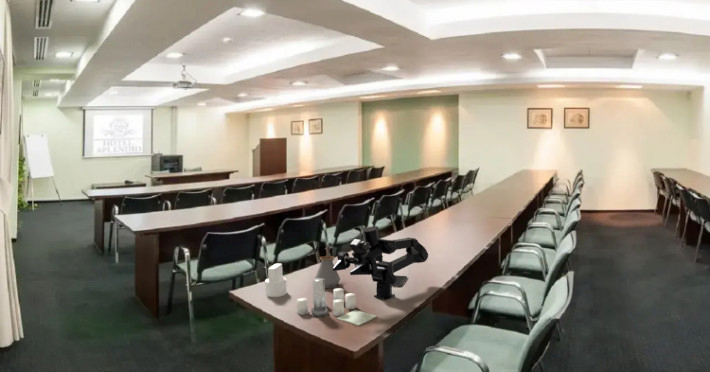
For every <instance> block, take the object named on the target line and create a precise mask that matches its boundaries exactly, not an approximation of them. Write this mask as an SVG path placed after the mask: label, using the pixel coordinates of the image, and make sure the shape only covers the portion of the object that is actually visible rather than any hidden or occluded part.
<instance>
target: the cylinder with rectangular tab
mask: <svg viewBox="0 0 710 372" xmlns="http://www.w3.org/2000/svg"><path fill="white" fill-rule="evenodd" d="M267 272H268V273H267V275H268V277H267V278H266V279H265V280H264V282H265V283H264V285H265V296H266V297H269V298H279V297H282V296H285V295H287V294H288V290H287V286H288V285H287V278H286V277H284V276H283V263H274V264H273V265H270V267H269V268H267Z"/></svg>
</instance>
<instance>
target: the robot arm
mask: <svg viewBox="0 0 710 372" xmlns="http://www.w3.org/2000/svg"><path fill="white" fill-rule="evenodd" d="M362 235H363V240H362V239H358V238H354V239H353V240H352V241H351V243H349V247H350V248H351V250H352V253H351V255H352V256H350V254H349V253H348V252H346V251H339V252H337V253H336V257H337V261H336V263H335V264H334V267H333V271H337V272H338V271H344V270H346V269H349V268H350V266H351V264H352V265H354V267H355V268H353V269H352V270H351V271H350V272H349V274H350V276H360V275H361V276H371V279H372V281H373V282H376V287H375V288H376V294H375V295H373V297H374V298H377V299H381V300H385V301H387V300H389V299H391V298H393V297H396V294H393V287H392V284H394V283H396V276H395V275H396V274H394V273H396V272H398V271H400V270H403V269H404V268H407V267H409V266H410V265H412V264H418V263H419V264H420V263H425V262H426V261H427V260H428V258H429V253H428V251H427V249H426V247H425V246H424V245H422V244H421V243H420V242H419V240H418V239H416V237H415V238H414V237H403V238H398V239H384V238H380V234H379V226H377V225H373V226H368V227H364V228H363V229H362ZM402 249H405V252H406V254H404V255H402V256H400V257H398V258H395V259H393V260H391V261H386V260H384V259H383V258H384V255H383V254H385V255H391V254H393V253H395V252H396V251H397V250H402Z"/></svg>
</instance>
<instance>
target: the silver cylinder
mask: <svg viewBox="0 0 710 372" xmlns="http://www.w3.org/2000/svg"><path fill="white" fill-rule="evenodd" d="M325 293H326V288H325V279H323V278H316V279H315V278H314V279H312V297H313V298H312V299H313V301H312V302H313V307H312V308H311V316H313V317H315V318H316V317H317V318H319V317H320V318H321V317H326V316H327V315H328V313H329V311H328V307H327V306H326V307H325Z"/></svg>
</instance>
